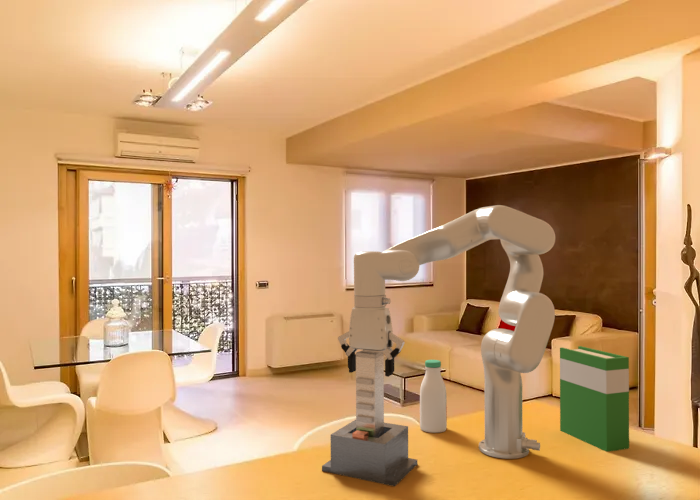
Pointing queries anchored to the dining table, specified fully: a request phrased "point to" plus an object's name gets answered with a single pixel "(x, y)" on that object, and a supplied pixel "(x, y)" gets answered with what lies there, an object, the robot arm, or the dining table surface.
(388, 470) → the housing
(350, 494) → the dining table surface
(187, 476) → the dining table surface
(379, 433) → the column
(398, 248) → the robot arm
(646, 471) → the dining table surface
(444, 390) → the milk bottle
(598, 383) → the hardback book
